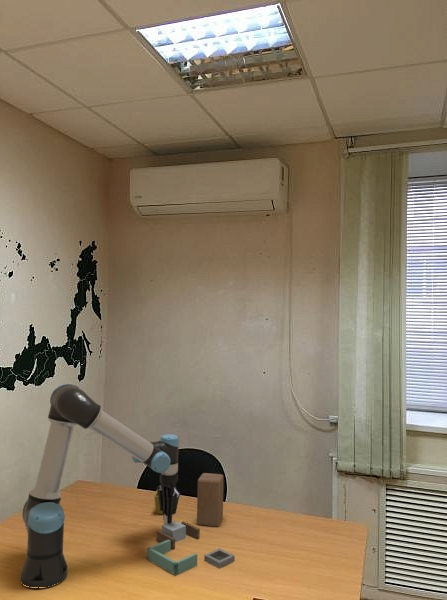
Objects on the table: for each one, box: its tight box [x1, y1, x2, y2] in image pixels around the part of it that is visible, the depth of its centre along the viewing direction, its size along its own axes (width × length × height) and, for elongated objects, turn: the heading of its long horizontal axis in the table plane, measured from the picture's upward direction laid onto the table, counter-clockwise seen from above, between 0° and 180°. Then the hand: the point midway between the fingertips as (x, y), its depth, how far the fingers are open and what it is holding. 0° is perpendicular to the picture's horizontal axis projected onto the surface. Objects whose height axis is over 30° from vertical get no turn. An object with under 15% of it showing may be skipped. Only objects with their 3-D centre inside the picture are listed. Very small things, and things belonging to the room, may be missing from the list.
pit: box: [204, 548, 236, 569], centre depth 181 cm, size 8×8×2 cm
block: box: [161, 520, 187, 543], centre depth 199 cm, size 7×7×5 cm
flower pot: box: [153, 490, 164, 515], centre depth 226 cm, size 9×9×9 cm
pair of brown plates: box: [156, 521, 201, 551], centre depth 197 cm, size 14×10×4 cm
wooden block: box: [196, 472, 224, 528], centre depth 216 cm, size 10×10×20 cm
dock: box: [146, 540, 198, 577], centre depth 179 cm, size 10×16×4 cm, turn 46°
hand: (167, 529), depth 202 cm, fingers closed
